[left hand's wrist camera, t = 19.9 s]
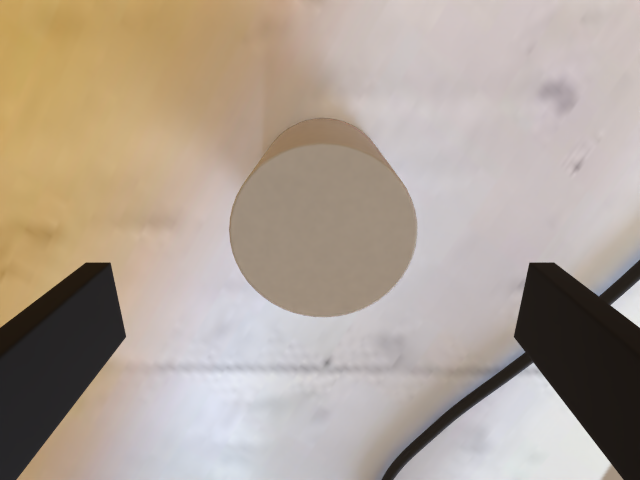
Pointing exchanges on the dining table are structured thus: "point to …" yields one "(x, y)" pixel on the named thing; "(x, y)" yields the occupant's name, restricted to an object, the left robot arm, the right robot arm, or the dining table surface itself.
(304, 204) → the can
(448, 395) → the dining table surface
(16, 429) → the left robot arm
